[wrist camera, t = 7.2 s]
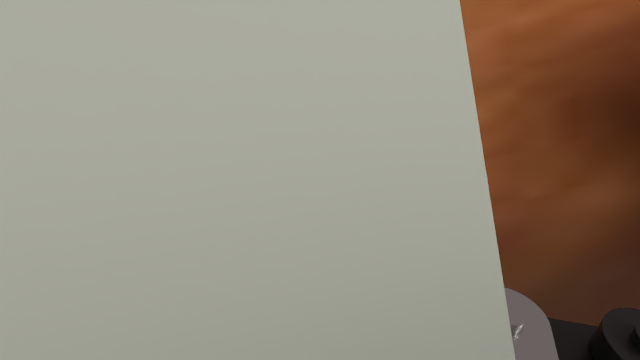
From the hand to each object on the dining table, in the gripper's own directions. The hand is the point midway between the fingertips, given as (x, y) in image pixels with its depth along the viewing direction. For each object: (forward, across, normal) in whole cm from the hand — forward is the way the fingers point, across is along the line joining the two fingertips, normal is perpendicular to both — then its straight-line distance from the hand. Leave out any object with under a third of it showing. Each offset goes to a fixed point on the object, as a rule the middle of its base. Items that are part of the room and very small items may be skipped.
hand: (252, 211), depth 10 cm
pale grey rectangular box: (+2, 0, +5) cm, 5 cm away
